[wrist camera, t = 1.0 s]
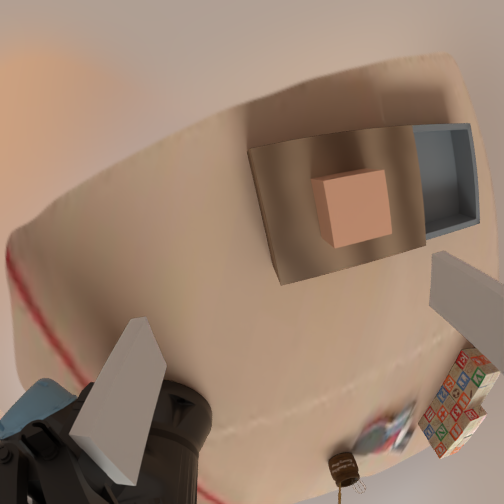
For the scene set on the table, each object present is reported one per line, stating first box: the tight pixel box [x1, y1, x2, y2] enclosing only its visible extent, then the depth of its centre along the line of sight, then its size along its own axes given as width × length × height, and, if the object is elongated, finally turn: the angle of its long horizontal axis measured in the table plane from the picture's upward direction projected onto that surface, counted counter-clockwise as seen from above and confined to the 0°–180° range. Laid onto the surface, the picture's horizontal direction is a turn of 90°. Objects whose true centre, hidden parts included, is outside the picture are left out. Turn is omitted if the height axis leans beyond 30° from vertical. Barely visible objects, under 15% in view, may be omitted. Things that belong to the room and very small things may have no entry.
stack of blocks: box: [418, 348, 501, 459], centre depth 41 cm, size 21×6×12 cm, turn 171°
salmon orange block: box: [311, 168, 392, 249], centre depth 26 cm, size 6×6×4 cm
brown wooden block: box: [247, 125, 426, 286], centre depth 31 cm, size 18×14×6 cm
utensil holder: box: [329, 453, 365, 504], centre depth 44 cm, size 6×6×12 cm
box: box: [412, 123, 480, 240], centre depth 32 cm, size 12×14×4 cm
